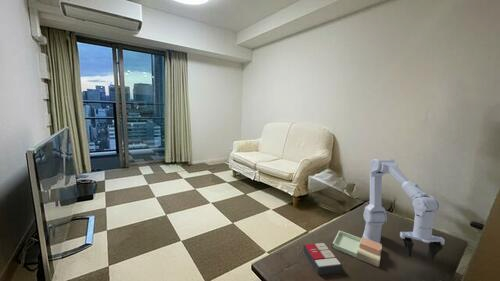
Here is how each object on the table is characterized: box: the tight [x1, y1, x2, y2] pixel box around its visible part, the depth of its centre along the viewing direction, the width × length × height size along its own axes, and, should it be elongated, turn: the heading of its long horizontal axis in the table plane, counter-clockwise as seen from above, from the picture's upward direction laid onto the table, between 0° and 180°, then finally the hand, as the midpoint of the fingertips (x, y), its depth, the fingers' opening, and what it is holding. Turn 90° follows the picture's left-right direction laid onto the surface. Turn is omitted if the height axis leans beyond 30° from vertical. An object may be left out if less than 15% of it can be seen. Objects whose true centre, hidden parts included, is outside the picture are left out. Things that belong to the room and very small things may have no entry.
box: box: [331, 230, 362, 259], centre depth 104 cm, size 14×11×2 cm
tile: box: [360, 236, 382, 255], centre depth 98 cm, size 6×8×2 cm
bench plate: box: [356, 237, 383, 268], centre depth 98 cm, size 14×9×3 cm, turn 144°
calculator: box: [302, 242, 343, 276], centre depth 93 cm, size 11×4×15 cm
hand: (419, 256), depth 84 cm, fingers open, 7 cm apart
